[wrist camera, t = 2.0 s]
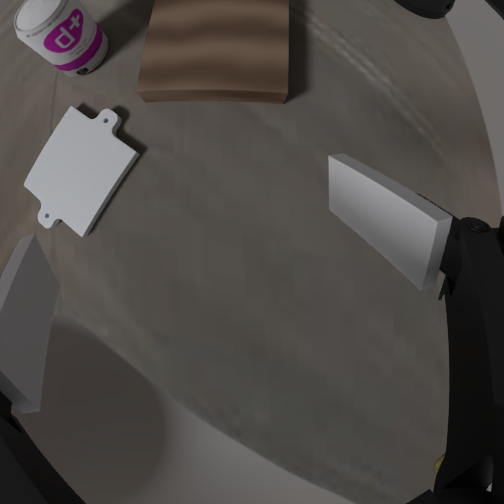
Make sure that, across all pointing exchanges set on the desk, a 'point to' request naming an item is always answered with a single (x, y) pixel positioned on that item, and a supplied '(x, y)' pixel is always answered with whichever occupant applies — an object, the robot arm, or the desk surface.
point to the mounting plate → (79, 170)
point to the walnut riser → (216, 51)
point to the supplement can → (62, 34)
